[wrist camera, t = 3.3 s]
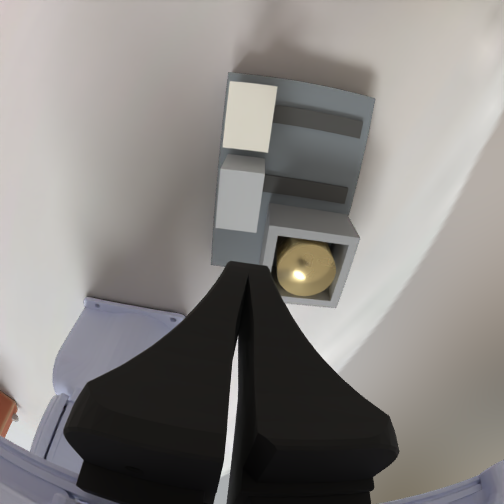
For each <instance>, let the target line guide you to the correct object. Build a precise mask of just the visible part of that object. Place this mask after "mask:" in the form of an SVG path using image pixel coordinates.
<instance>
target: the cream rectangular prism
mask: <svg viewBox="0 0 504 504" xmlns="http://www.w3.org/2000/svg"><path fill="white" fill-rule="evenodd" d="M276 93H277V86H270V85H262V84H254V83H245V82H235V81H230V83H229V92H228V100H227V109H226V118H225V128H224V137H223V147H224V148H234V149H242V150H251V151H259V152H266V153H268V149H269V142H270V135H271V128H272V121H273V114H274V107H275V100H276Z"/></svg>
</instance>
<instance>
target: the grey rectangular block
mask: <svg viewBox="0 0 504 504" xmlns="http://www.w3.org/2000/svg"><path fill="white" fill-rule="evenodd" d="M264 177H265V158H258V157H250V156H241V155H233V154H228V155H227V157H226V159H225V161H224V163H223V165H222V167H221V169H220V179H219V190H218V202H217V215H216V228H221V229H229V230H237V231H245V232H253V233H256V232H257V225H258V218H259V211H260V204H261V197H262V190H263V183H264Z"/></svg>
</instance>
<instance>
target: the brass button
mask: <svg viewBox="0 0 504 504" xmlns="http://www.w3.org/2000/svg"><path fill="white" fill-rule="evenodd" d="M276 259H277V277H278V281H279V283H280V285H281V286H282V287H283V288H284V289H285V290H286V291H288V292H289V293H291V294H294V295H298V296H311V295H315V294H318V293H320V292H322V291H324V290H325V289H326V288H328V287H329V285H330V284H331V283H332V282H333V280H334V278H335V274H336V265H335V262H334V259H333V256H332V253H331V250H330V247H329V244H328V242H322V241H315V240H307V239H300V238H293V237H285V236H278V237H277V242H276Z"/></svg>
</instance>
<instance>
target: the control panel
mask: <svg viewBox="0 0 504 504" xmlns="http://www.w3.org/2000/svg"><path fill="white" fill-rule="evenodd" d="M16 412H17V405H16V402H15V401H14V400H12V399H11V398H10V397H8V396H7V395H5V394H4V393H2V392H1V391H0V436H2V437H4V438H5V436H6V434H7V431H8V429H9V427H10V425H11V423H12V421H15V422H17V421H18V416H17V415H16Z"/></svg>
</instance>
